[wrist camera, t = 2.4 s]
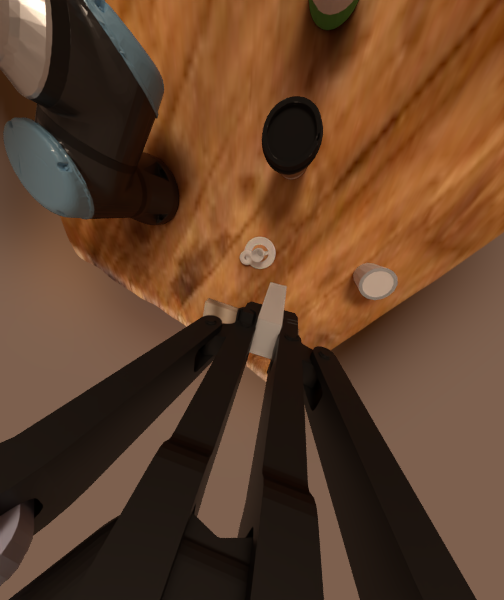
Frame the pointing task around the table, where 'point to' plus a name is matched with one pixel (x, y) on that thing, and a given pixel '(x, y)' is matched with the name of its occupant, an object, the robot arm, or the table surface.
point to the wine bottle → (331, 12)
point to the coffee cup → (292, 136)
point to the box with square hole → (221, 311)
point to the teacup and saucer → (258, 253)
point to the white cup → (374, 281)
